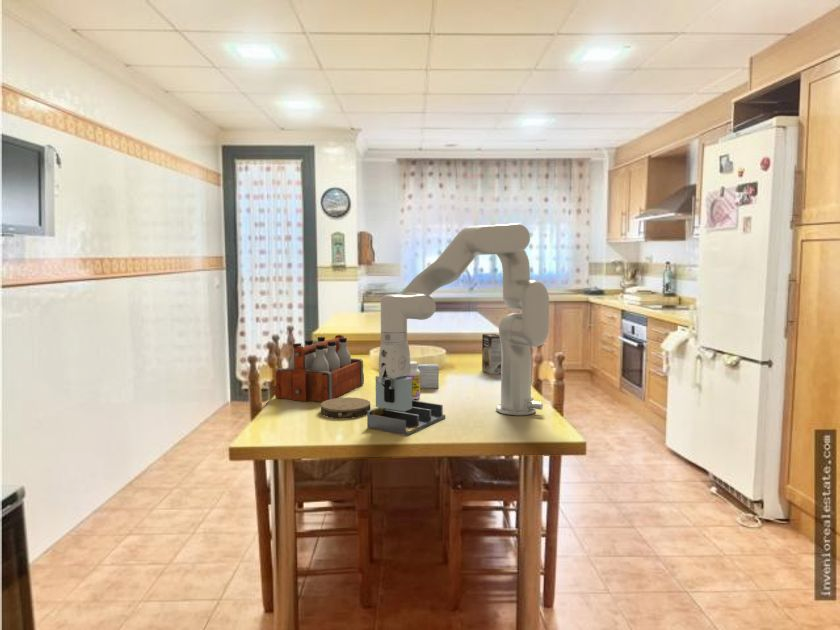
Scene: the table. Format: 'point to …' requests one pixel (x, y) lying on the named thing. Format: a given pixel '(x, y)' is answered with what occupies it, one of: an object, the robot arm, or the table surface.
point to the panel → (396, 394)
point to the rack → (405, 418)
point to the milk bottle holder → (319, 371)
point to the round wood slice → (345, 407)
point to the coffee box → (491, 353)
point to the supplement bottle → (415, 379)
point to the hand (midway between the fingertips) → (394, 399)
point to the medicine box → (429, 375)
